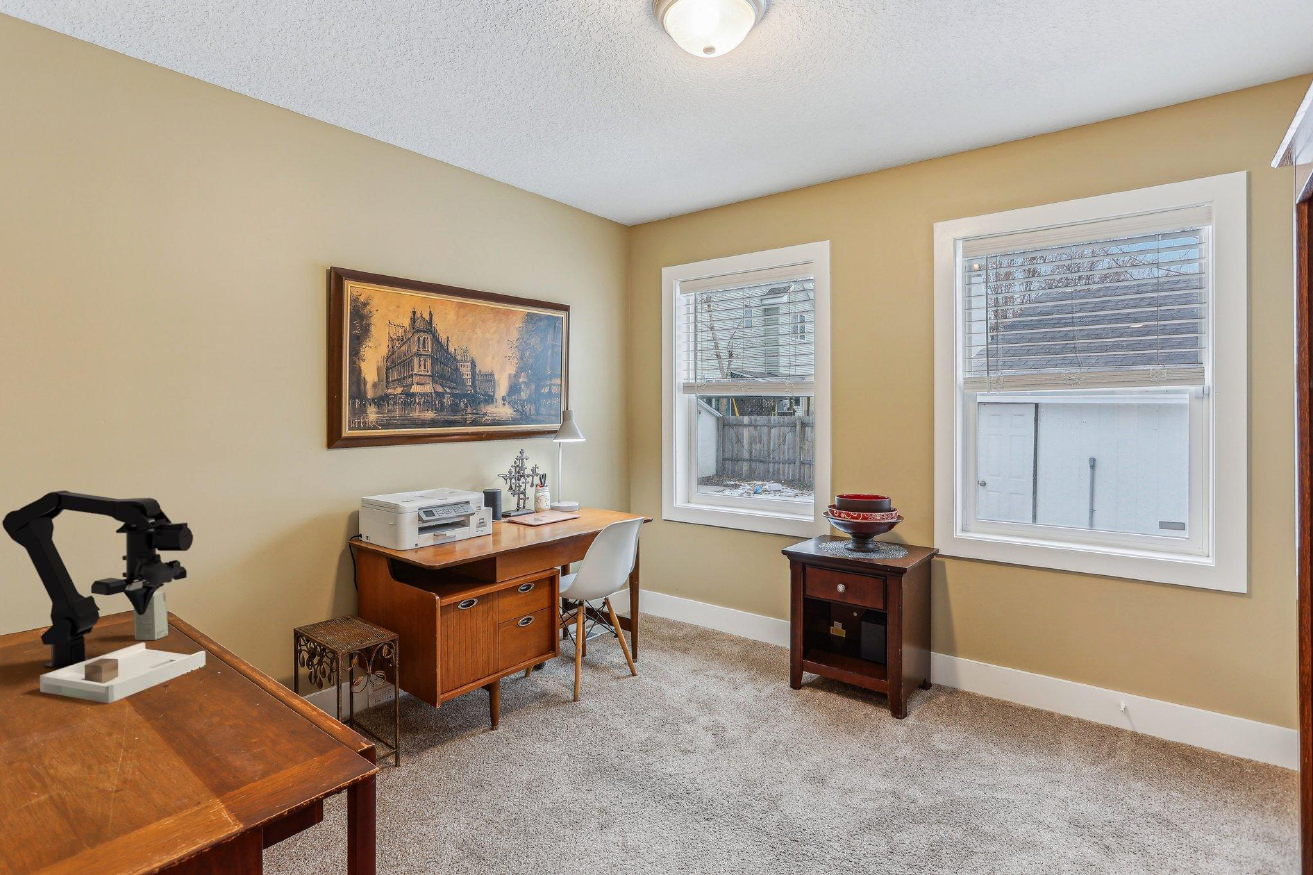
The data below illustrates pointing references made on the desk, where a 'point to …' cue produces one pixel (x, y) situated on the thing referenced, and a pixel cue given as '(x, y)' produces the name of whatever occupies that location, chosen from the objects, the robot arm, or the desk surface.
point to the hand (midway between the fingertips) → (141, 614)
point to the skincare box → (152, 619)
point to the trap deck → (121, 674)
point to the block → (101, 670)
